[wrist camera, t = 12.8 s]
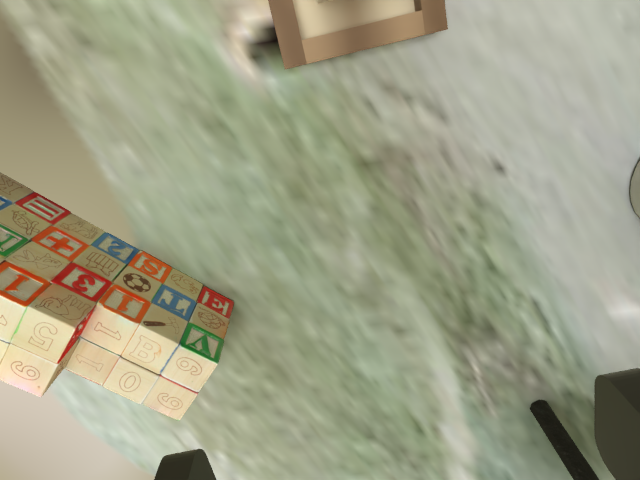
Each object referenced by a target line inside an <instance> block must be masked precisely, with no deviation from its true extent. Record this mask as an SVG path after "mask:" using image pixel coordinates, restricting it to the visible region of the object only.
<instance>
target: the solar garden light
mask: <svg viewBox="0 0 640 480" xmlns="http://www.w3.org/2000/svg"><path fill="white" fill-rule="evenodd" d="M530 410H531V412H532V413H533V415H534V416H535V418H536V420H537V421H538V423H539V424H540V426H541V428H542V429H543V431H544V432H545V434H546V436H547V437H548V439H549V441H550V442H551V444H552V445H553V447H554V449H555V450H556V452H557V453H558V455H559V457H560V458H561V460H562V462H563V463H564V465H565V466H566V468H567V470H568V471H569V473H570V474H571V476H572V478H573V479H574V480H599V479H598V477H597V476H596V474H595V473H594V471H593V470H592V468H591V467H590V465H589V464H588V462H587V461H586V459H585V458H584V457H583V455H582V454H581V452H580V451H579V449H578V448H577V446H576V445H575V443H574V442H573V440H572V439H571V437H570V436H569V434H568V433H567V431H566V430H565V429H564V427H563V426H562V424H561V423H560V421H559V420H558V418H557V417H556V415H555V414H554V412H553V411H552V409H551V408H550V406H549V405H548V403H547V402H546V401H543V400H538V401H536V402H534V403H532V405H531V407H530Z"/></svg>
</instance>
